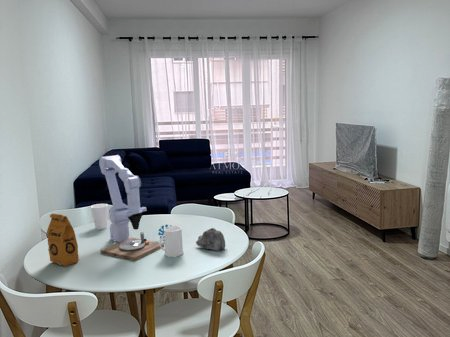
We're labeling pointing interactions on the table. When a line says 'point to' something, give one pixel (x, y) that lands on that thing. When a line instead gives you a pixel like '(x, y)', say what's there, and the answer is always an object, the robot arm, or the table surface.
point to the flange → (134, 244)
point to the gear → (162, 231)
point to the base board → (134, 254)
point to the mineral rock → (211, 240)
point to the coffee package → (62, 241)
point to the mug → (172, 241)
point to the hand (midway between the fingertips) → (135, 229)
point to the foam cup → (100, 215)
